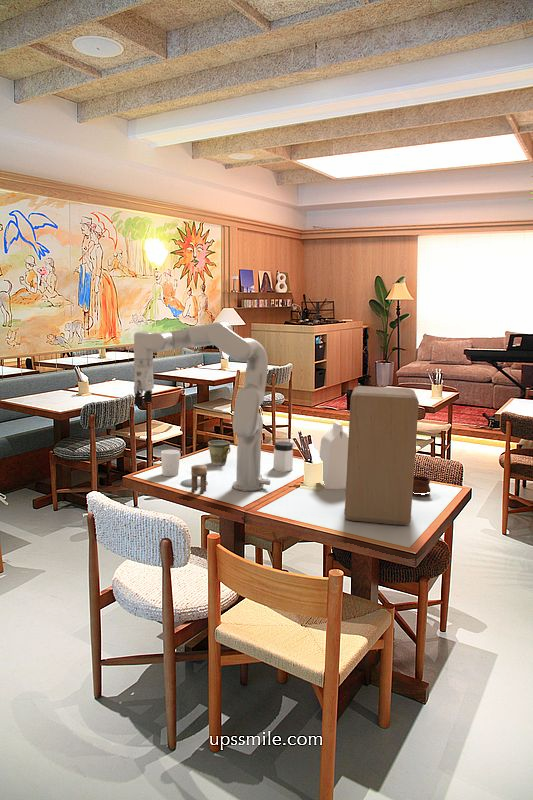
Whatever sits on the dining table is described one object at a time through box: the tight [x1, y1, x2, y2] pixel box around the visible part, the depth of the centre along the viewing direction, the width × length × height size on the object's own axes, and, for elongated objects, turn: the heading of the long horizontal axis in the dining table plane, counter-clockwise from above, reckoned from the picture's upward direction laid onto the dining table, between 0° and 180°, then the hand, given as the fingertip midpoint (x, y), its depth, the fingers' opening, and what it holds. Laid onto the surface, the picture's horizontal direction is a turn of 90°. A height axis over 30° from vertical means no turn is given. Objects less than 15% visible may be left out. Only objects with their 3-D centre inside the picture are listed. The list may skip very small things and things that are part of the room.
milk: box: [319, 421, 349, 490], centre depth 256 cm, size 12×12×26 cm
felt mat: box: [180, 478, 209, 489], centre depth 253 cm, size 11×11×1 cm
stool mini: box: [190, 464, 208, 495], centre depth 241 cm, size 6×6×10 cm
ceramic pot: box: [412, 475, 431, 501], centre depth 248 cm, size 18×18×7 cm
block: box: [344, 385, 420, 526], centre depth 219 cm, size 22×22×45 cm
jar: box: [273, 440, 294, 473], centre depth 278 cm, size 9×8×12 cm
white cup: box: [160, 449, 181, 477], centre depth 264 cm, size 8×8×10 cm
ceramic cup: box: [207, 439, 231, 466], centre depth 283 cm, size 13×10×10 cm
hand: (143, 404), depth 254 cm, fingers open, 9 cm apart
